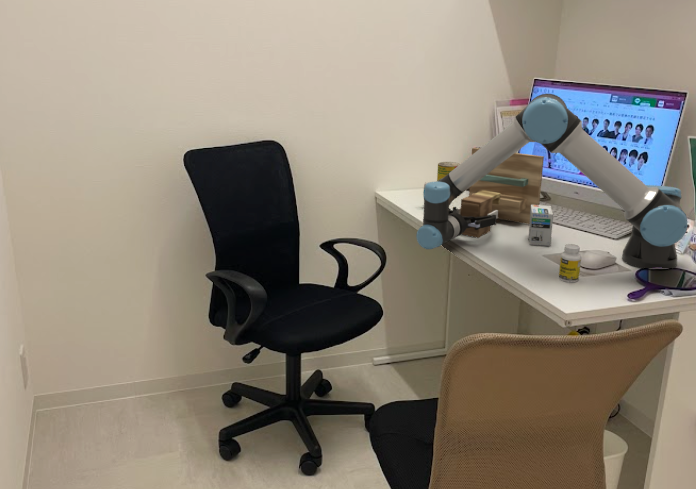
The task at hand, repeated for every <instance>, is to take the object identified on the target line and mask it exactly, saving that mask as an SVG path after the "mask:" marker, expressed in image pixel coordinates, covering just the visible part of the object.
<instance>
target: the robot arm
mask: <svg viewBox="0 0 696 489" xmlns="http://www.w3.org/2000/svg"><path fill="white" fill-rule="evenodd" d="M529 143H538V144H541V145H542V146H543V147H544V148H545V149H546V150H547V151H548V152H549V153H551V154H558V153H559V154H560V155H561V156H562V157H564V158H565V159H566V160H567V161H568V162H569V163H571V164H572V165H573V166H574V168H576V169H577V170H578V171H580V172H581V173H582V174H583V175H584V176H585V177H586V178H588V179H589V180H590V181H591V182H592V183H593V184H594V185H595V186H597V187H598V189H600V190H601V191H602V192H603V193H604V194H606V195H607V196H608V197H609V198H611V200H613V201H614V203H616V204H617V205H618V206H619V207H620V208H622V210H623V211H624V219H625V220H626V221H628V223H630V224H631V225H632V228H631V235H630V237H629V238H628V240H627V242H626V244H625V246H624V248H623V251H622V254H621V255H622V256H621V259H622V261H623V262H624V263H625V264H628V265H630V266H632V267H636V268H640V269H644V268H652V267H662V268H672V269H674V268H675V267H677V264H678V255H677V249H676V248H677V247H676V244H677V243H679V242H680V241H681V240H682V239H683V237H685V234H686V232H687V230H688V218H687V215H686V213H685V211H683V209H682V207H681V205H680V204H681V200H682V190H681V189H680V188H678V187H674V186H667V185H657V184H656V185H654V184H649V185H648V184H647V185H646V184H645V182H643V181H641V180H640V178H638V177H637V176H636V175H635V174H634V173H633V172H631V171H630V170H629V169H628V167H626V166H625V165H623V163H622V162H620V161H619V160H618V159H617V158H616V157H614V155H613V154H611V153H610V152H609V151H608V150H606V149H605V148H604V147H603V146H602V145H601V144H600V143H599V142H597V141H596V140H595V139H594V138H593V137H592V136H591V135H589V133H587V132H586V131H585V130H584V128H583V121H582V119H580V118H579V117H578V116H577V115H576V114H574V113H573V112H572V111H571V110H570V109H569V108H568V107H567V104H566V103H565V101H564V100H563V99H562V98H561V97H560V96H558V95H556V94H554V93H542V94H539V95H536V96H535V97H533V99H531V101H530V102H529V103H528V104H527V105H526V106H525V107H524V109H523V110H521V111H520V112H519V113H518V114H516V115H515V116H514V119H513V122H512V123H510V124H509V125H508V126H507V127H506V128H504V129H503V130H502V131H500V132H499V133H498V134H497V135H495V136H494V137H493V138H491V139H490V140H489V141H488V142H487V143H485V144H484V145H482V146H481V147H480V149H479V150H478V151H476V152H475V153H474V154H473V155H472V154H471V155H470V156H469V157H467V158H466V159H464V160H463V161H462V162H461V163H459V164H460V165H459V166H457V167H456V168H455V169H454V170H452V171H451V172H450V173H449V174H448V175H446V176H445V177H444V178H442V179H440V180H438V181H437V180H436V181H429V182H430V183H427V184H426V185H425V192H424V195H423V218H422V226H420V227H419V228H418V230H417V232H416V241H417V243H418V245H419V246H420V247H422V248H423V249H425V250H433V249H436V248H439V247H440V246H442V245H444V244H445V243H447V242H449V241H451V240H453V239H455V238H457V237H460V236H462V235H461V234H463V233H464V231H465V230H466V229H467V228H470V227H475V230H479V229H480V228H484V227H488V226H491V227H492V226H496V225H497V219H498V210H495V211H493V212H491V213H489V214H487V216H480V217H473V216H468V217H466V216H461V215H460V212H461V206H460V207H458V208H457V207H456V206H453V207H452V209H451V208H450V206H451V204H452V203H453V201H454V200H455V199H457V198H458V197H460V195H462V194H463V193H464V192H465V191H467V190H469V189H470V187H471V186H472V185H474V184H475V183H476V182H477V181H479V180H480V179H481V178H483V177H484V176H485V175H487V174H488V173H489V172H491V171H492V170H493V169H495V168H496V167H497V166H499V165H500V164H501V163H503V162H504V161H505V160H506V159H508V158H509V157H510V156H512V155H513V154H514V153H518V151H520V150H521V149H522V148H524V147H525V146H526V145H527V144H529ZM470 219H471V221H470Z"/></svg>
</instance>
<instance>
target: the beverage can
mask: <svg viewBox="0 0 696 489" xmlns="http://www.w3.org/2000/svg"><path fill="white" fill-rule="evenodd" d="M460 164H461V163H458V162H453V161H441V162H437V173H436V174H437V175H436V177H437V179H436V182H437V181H438V180H440V179H442V178H444V177H445V176H446V175H448V174H449V173H450V172H451V171H452V170H454V169H455V168H456V167H457V166H459V165H460Z"/></svg>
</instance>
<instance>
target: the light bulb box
mask: <svg viewBox="0 0 696 489" xmlns="http://www.w3.org/2000/svg"><path fill="white" fill-rule="evenodd" d="M553 221H554V212H553V209H552V206H551V205H542V204H539V205H531V210H530V223H529V224H528V225H529V227H528V240H529V245H530V246H541V247H542V246H544V247H545V246H546V247H551V245H552V244H551V243H552V242H551V241H552V233H553V230H552V229H553Z"/></svg>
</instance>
